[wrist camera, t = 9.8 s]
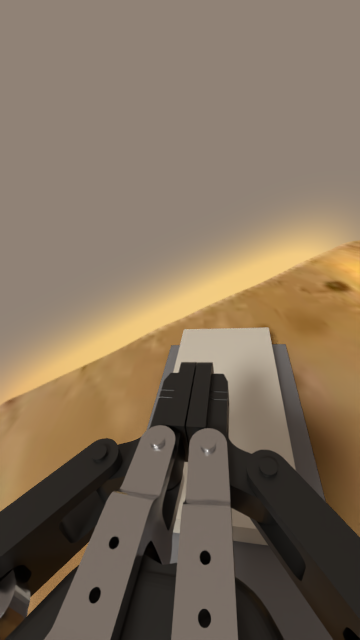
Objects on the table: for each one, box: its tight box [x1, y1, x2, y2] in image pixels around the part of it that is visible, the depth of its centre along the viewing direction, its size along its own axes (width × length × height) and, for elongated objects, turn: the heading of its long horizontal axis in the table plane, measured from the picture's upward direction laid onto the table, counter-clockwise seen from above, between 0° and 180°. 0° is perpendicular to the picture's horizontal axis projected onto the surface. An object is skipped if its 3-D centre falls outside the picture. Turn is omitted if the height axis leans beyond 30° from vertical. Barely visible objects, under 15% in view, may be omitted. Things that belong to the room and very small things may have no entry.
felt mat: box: [147, 344, 333, 640], centre depth 23 cm, size 26×14×1 cm, turn 171°
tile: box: [173, 328, 296, 546], centre depth 25 cm, size 2×10×20 cm
